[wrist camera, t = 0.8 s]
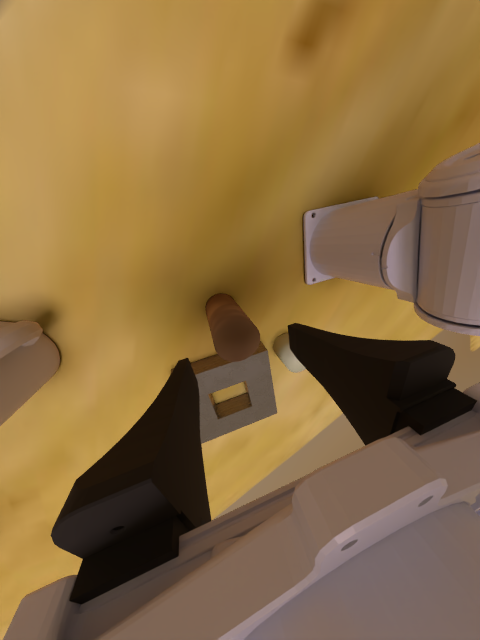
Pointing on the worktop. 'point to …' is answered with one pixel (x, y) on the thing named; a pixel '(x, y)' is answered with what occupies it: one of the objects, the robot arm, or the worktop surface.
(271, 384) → the collar plate
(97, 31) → the worktop surface
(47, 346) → the cup
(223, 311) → the walnut dowel
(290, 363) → the pale cream cylinder
